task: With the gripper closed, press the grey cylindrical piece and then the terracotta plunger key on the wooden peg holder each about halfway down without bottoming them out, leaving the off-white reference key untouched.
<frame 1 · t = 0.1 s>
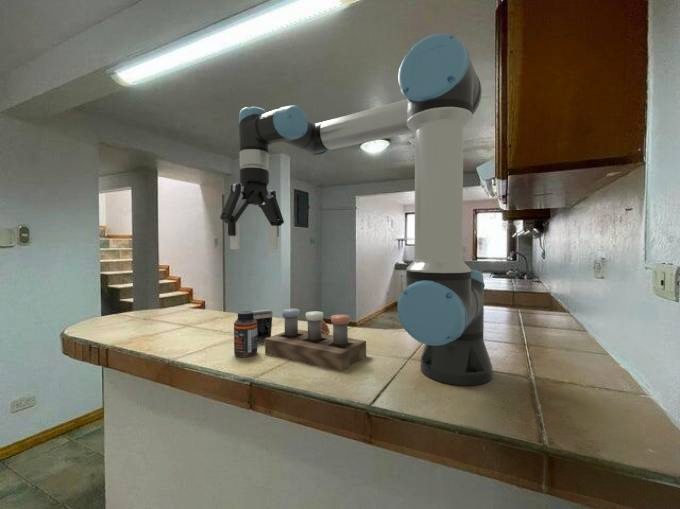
hand: (255, 249, 88), 28 cm above the counter, fingers open, 13 cm apart
fruit slice: (318, 338, 102), on the counter
supplement bottle: (245, 355, 87), on the counter
key white: (314, 325, 85), point 8 cm above the counter, slide at 0.0 cm
electrical switch: (258, 340, 100), on the counter
wooden peg holder: (314, 354, 86), on the counter
key red: (340, 329, 81), point 8 cm above the counter, slide at 0.0 cm
grey cylindrical piece: (291, 321, 90), point 8 cm above the counter, slide at 0.0 cm
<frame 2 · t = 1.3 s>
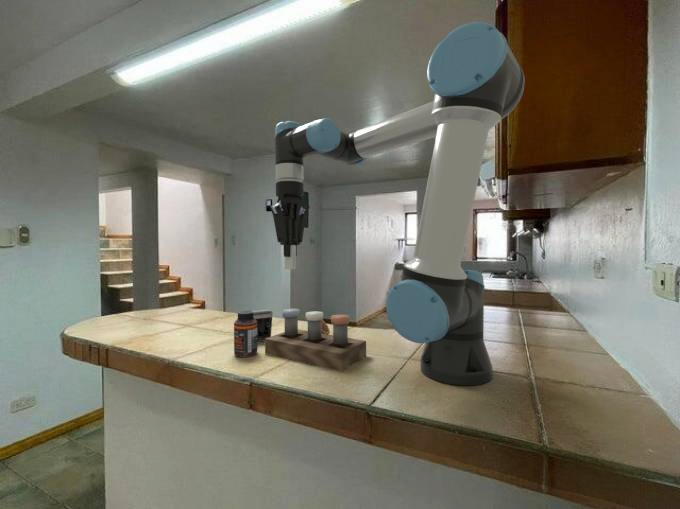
hand: (290, 268, 89), 22 cm above the counter, fingers closed
nothing on the counter moved.
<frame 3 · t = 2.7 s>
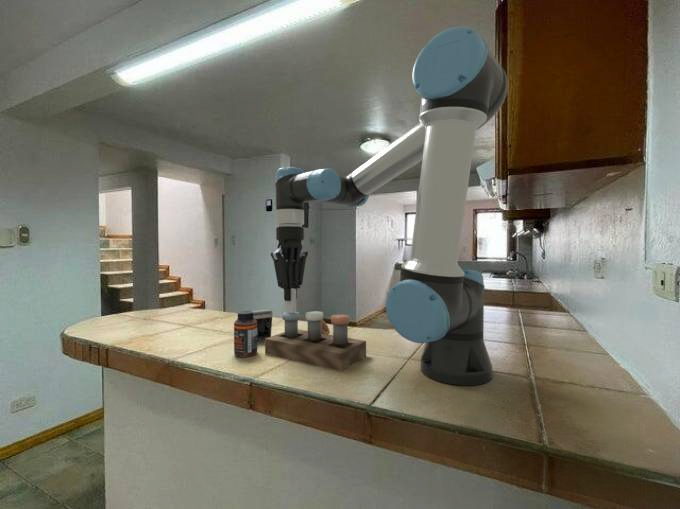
hand: (290, 312, 90), 10 cm above the counter, fingers closed
grey cylindrical piece: (291, 324, 90), point 7 cm above the counter, slide at 0.9 cm, touching gripper
everything else where it was.
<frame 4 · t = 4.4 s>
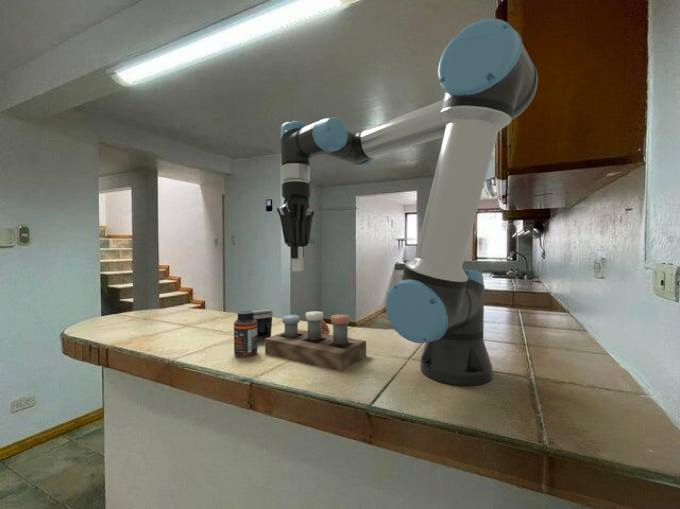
hand: (297, 270, 88), 22 cm above the counter, fingers closed
grey cylindrical piece: (291, 328, 90), point 6 cm above the counter, slide at 1.8 cm
everything else where it was.
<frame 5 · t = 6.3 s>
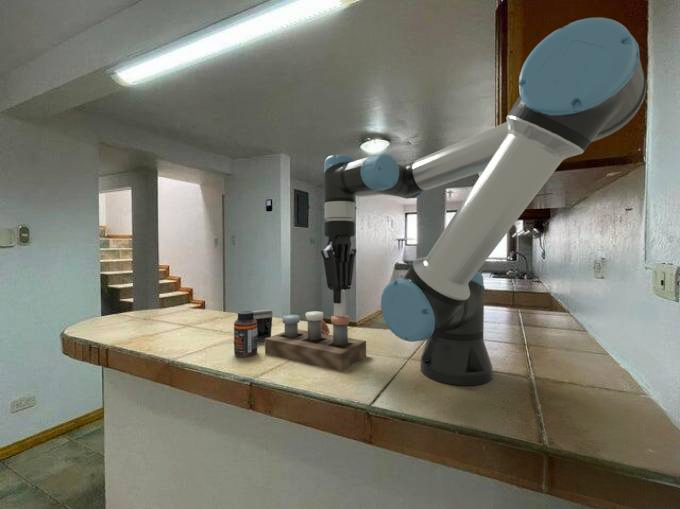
hand: (339, 315, 81), 11 cm above the counter, fingers closed
key red: (340, 329, 81), point 8 cm above the counter, slide at 0.1 cm, touching gripper
everything else where it was.
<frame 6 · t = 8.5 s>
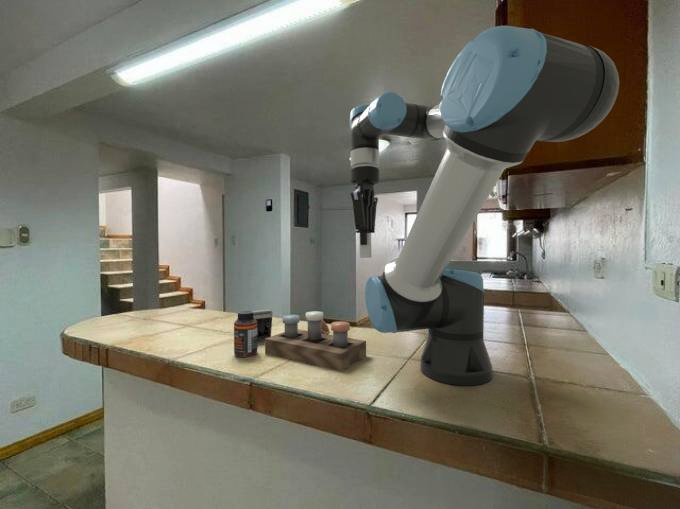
hand: (365, 257, 87), 25 cm above the counter, fingers closed
key red: (340, 336, 81), point 6 cm above the counter, slide at 1.8 cm
everything else where it was.
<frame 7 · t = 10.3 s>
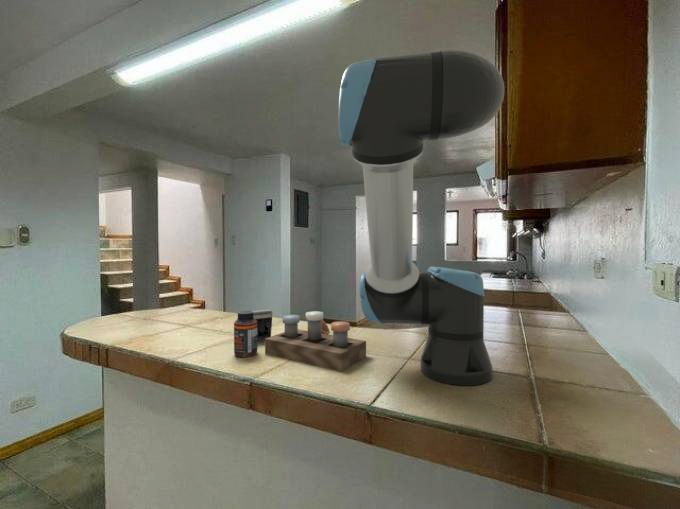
hand: (397, 242, 96), 29 cm above the counter, fingers closed
nothing on the counter moved.
at the end: grey cylindrical piece slide at 1.8 cm; key red slide at 1.8 cm; key white slide at 0.0 cm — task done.
